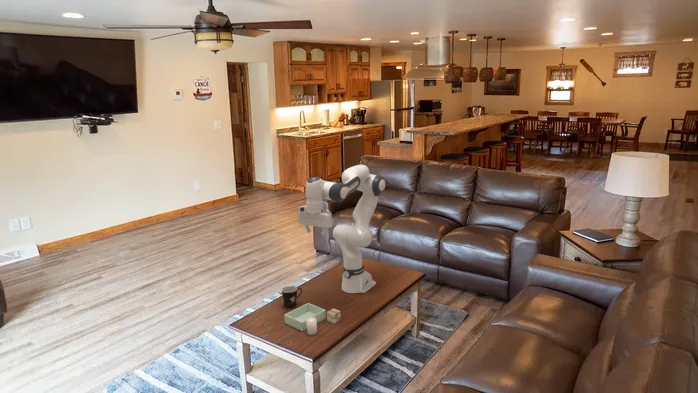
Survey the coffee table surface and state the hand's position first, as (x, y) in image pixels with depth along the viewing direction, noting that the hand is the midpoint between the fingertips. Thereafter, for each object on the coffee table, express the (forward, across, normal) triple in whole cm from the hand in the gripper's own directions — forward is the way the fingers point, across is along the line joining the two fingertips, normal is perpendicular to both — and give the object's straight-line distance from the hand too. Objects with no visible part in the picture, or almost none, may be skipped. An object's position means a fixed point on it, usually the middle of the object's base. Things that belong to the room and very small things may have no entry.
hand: (315, 233), depth 253 cm
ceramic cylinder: (+43, -12, +23) cm, 50 cm away
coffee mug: (+44, +15, +4) cm, 46 cm away
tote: (+43, -2, +15) cm, 46 cm away
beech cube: (+44, -14, +7) cm, 46 cm away
